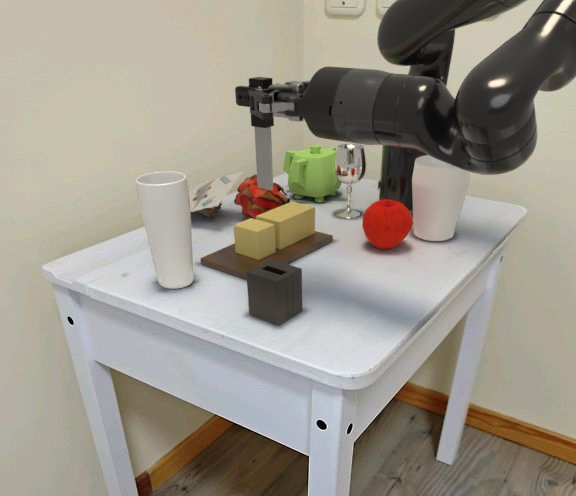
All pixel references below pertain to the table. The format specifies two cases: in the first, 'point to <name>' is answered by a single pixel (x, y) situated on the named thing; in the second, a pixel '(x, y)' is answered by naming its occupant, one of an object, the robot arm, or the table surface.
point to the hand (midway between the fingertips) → (244, 94)
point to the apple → (386, 223)
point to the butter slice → (254, 238)
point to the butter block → (290, 223)
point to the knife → (263, 141)
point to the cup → (437, 198)
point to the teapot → (312, 172)
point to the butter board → (241, 264)
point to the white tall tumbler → (167, 225)
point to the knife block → (274, 291)
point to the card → (210, 194)
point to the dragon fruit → (259, 197)
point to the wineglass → (349, 171)
